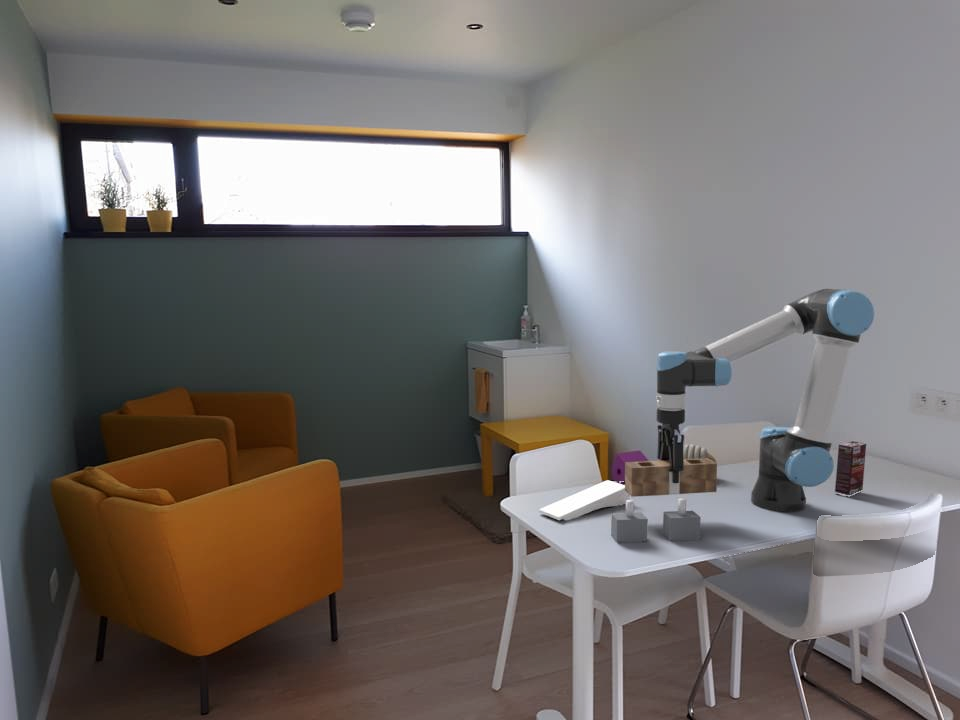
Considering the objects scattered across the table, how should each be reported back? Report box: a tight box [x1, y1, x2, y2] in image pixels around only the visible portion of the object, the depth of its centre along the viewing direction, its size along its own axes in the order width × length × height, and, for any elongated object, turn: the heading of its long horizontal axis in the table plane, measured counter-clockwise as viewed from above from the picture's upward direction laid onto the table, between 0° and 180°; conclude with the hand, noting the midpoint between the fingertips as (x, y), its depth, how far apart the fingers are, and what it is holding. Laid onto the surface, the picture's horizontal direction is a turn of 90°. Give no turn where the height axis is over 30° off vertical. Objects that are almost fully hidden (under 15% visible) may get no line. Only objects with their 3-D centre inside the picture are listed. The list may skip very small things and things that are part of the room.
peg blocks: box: [610, 498, 701, 543], centre depth 187 cm, size 22×5×10 cm, turn 96°
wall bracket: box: [538, 479, 630, 521], centre depth 210 cm, size 10×7×28 cm
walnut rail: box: [624, 458, 718, 498], centre depth 199 cm, size 24×6×8 cm, turn 96°
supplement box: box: [834, 440, 867, 495], centre depth 223 cm, size 9×5×16 cm, turn 126°
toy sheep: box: [683, 443, 717, 463], centre depth 242 cm, size 11×17×11 cm, turn 70°
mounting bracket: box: [611, 450, 650, 484], centre depth 233 cm, size 10×8×18 cm
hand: (669, 489), depth 200 cm, fingers closed on walnut rail, 6 cm apart
